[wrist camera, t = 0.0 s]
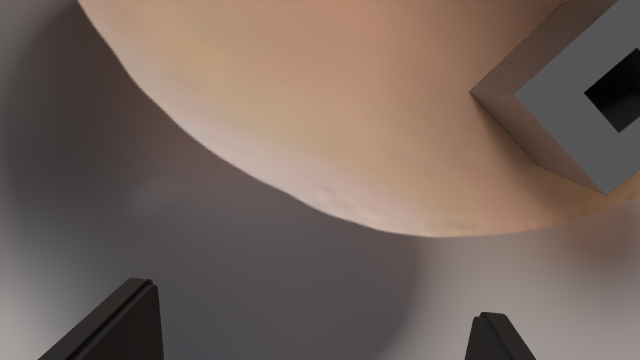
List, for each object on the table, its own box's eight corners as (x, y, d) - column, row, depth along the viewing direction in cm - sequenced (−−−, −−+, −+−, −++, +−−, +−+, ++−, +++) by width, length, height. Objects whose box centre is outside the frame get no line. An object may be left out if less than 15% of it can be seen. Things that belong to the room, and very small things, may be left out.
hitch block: (564, 2, 34) (653, -32, 24) (635, 87, 36) (747, 88, 26) (469, 91, 37) (514, 94, 27) (539, 166, 39) (605, 195, 29)
